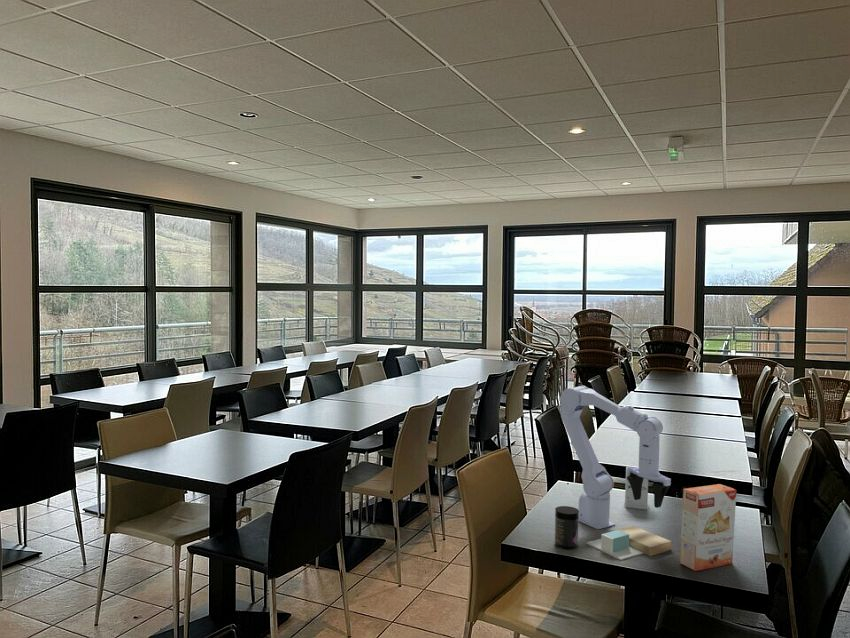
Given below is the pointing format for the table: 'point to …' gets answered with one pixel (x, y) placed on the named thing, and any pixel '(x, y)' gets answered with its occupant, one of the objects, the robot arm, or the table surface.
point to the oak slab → (646, 541)
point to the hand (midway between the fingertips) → (647, 503)
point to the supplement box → (629, 496)
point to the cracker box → (707, 526)
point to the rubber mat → (619, 554)
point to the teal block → (614, 541)
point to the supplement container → (566, 527)
